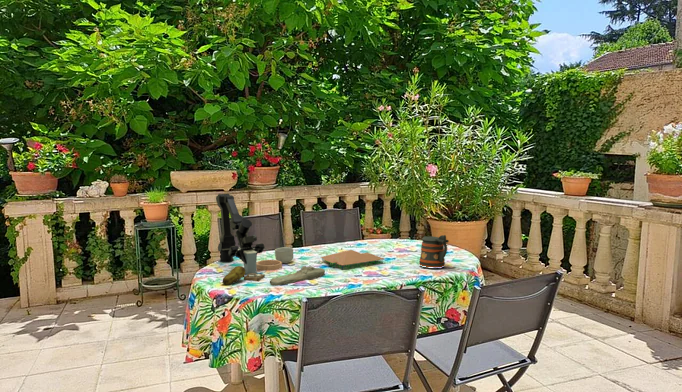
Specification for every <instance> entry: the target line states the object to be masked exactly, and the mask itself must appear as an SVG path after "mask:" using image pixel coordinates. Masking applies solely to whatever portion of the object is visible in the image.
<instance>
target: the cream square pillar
mask: <svg viewBox="0 0 682 392" xmlns="http://www.w3.org/2000/svg"><path fill="white" fill-rule="evenodd" d="M243 253H244V256H245V259H246V262H247V264H245V263H244V262H243V268H245V270H246V271H245V276H247V275H248V274H250V273H253V274H257V268H256V262H257V260H256V253H257V252H256V251H254V250H247V251H243ZM257 254H258V253H257Z"/></svg>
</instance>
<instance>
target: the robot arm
mask: <svg viewBox="0 0 682 392" xmlns="http://www.w3.org/2000/svg"><path fill="white" fill-rule="evenodd" d="M215 202H216V204H217V206H218V208H219V209H220V218H221V233H222V234H221V236H220V237H219V243H218V246H217V251H218V252H219V255H220V257H219V260H218V262H220V263H221V262H222V263H231V262H233V261H235V259H234V257H235V258H238V259H240V260H241V261H242V263H243V264H244V263H245V264H247V262H246V259H245V256H244V252H243V251H247V250H254V251H256V252H257V253H256V261H257V259H258V254H262V253H263V252H264V249H265V247H266V246H265V244H264V243H256V244H255V246H253V243H254V242H257V240H258V237H257V235H256V234H252V235H251V236H250V235H248V233H250V229H251V228H252V225H253V222H252V221H251V220H249V219H248V218H247V217H243V216H242V215H241V214H240V213H239V210H238V208H237V207H238V206H237V205H236V201H235V197H234V196H233V195H230V193H218V194H217V195H216V196H215ZM231 230H234V231H235V236H234V235H233V234H232V232H231ZM235 237H236V239H237V242H238V243H236V240H235ZM236 244H237V245H236Z"/></svg>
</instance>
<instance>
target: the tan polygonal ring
mask: <svg viewBox="0 0 682 392" xmlns="http://www.w3.org/2000/svg"><path fill="white" fill-rule="evenodd" d="M282 268H283V263H282V262H281V261H278V260H276V259H263V260H262V259H261V260H258V261H256V270H260V271H275V270H280V269H282Z"/></svg>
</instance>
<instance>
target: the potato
mask: <svg viewBox="0 0 682 392" xmlns="http://www.w3.org/2000/svg"><path fill="white" fill-rule="evenodd" d="M245 271H246V270H245V268H244V266H242V265H238V266H235V267H233V268H232V269H231V270H229V272H228V273H227V274H226V275H225V276H224V277H223V278H222V284H223V285H225V286H229V285H231V284H235V283H237V282H238V281H239V280H241V279H242V278H244V277H245V276H246V274H245Z"/></svg>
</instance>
